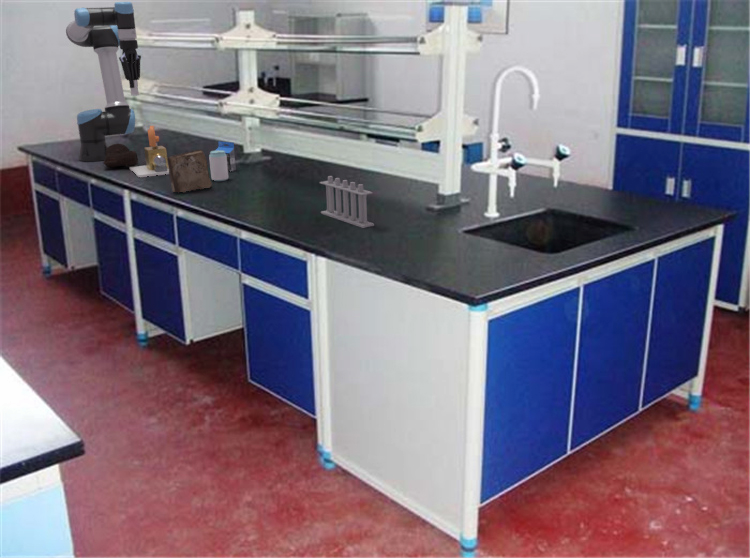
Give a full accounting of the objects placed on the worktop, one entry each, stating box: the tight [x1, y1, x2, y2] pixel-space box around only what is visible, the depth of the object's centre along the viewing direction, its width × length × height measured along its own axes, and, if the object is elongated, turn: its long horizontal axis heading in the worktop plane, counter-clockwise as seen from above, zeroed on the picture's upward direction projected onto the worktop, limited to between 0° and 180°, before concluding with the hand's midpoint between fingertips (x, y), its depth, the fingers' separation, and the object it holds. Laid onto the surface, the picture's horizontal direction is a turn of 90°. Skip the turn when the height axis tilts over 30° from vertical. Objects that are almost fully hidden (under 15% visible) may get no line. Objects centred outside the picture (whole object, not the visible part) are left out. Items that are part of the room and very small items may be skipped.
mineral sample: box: [167, 149, 213, 194], centre depth 304 cm, size 17×4×15 cm, turn 126°
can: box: [208, 149, 229, 182], centre depth 322 cm, size 7×7×12 cm
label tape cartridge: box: [215, 141, 237, 173], centre depth 341 cm, size 9×4×12 cm, turn 62°
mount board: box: [129, 164, 170, 178], centre depth 346 cm, size 22×21×1 cm
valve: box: [143, 142, 168, 172], centre depth 345 cm, size 20×8×12 cm, turn 27°
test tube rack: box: [319, 175, 375, 229], centre depth 255 cm, size 25×4×13 cm, turn 36°
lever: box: [147, 125, 160, 147], centre depth 336 cm, size 17×4×7 cm, turn 13°
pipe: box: [102, 143, 139, 168], centre depth 356 cm, size 10×15×15 cm
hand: (135, 95), depth 344 cm, fingers closed
